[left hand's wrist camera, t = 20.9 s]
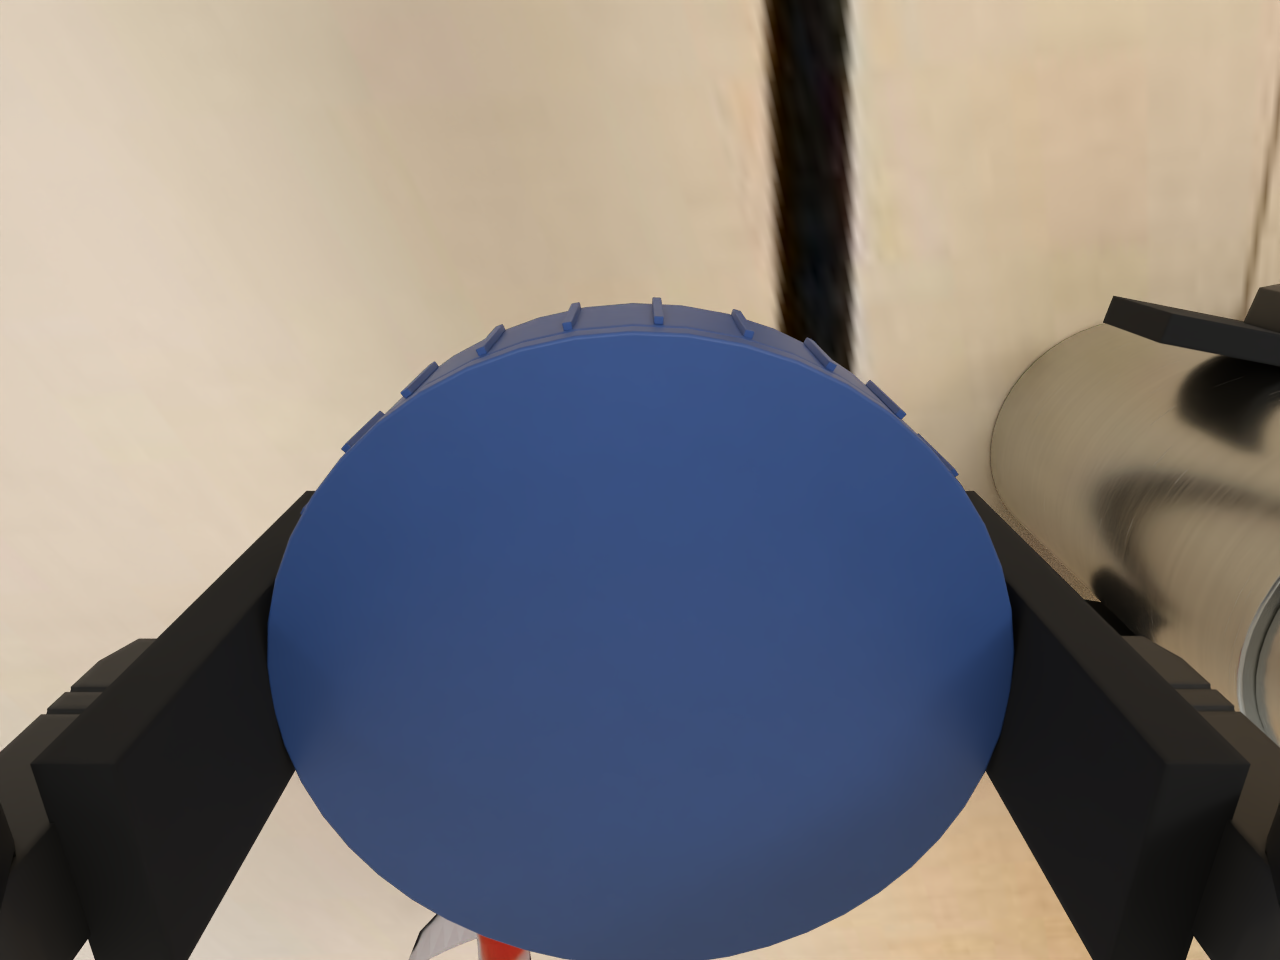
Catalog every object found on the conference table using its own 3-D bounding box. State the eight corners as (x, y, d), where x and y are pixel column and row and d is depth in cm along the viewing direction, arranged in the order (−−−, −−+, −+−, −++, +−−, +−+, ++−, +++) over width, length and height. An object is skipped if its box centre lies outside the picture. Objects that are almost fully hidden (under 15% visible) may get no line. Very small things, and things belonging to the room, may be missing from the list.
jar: (1022, 309, 28) (1410, 467, 14) (1267, 328, 28) (1892, 501, 14) (966, 537, 31) (1235, 852, 17) (1187, 552, 31) (1632, 874, 17)
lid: (1001, 794, 13) (1059, 894, 12) (454, 914, 14) (427, 1023, 13) (905, 204, 10) (964, 213, 8) (202, 411, 11) (115, 459, 9)
